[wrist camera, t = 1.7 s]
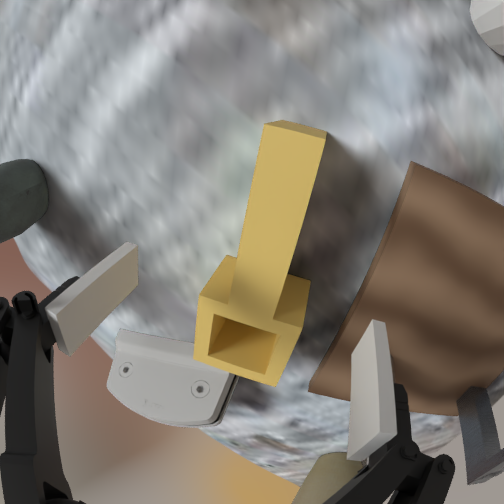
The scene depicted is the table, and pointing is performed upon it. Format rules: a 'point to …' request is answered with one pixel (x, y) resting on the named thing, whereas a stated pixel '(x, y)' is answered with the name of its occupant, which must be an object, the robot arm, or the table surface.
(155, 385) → the white d-shaped block
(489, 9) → the white cylinder
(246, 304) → the link
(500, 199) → the table surface
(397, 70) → the table surface
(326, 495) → the plant pot
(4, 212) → the bottle
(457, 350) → the board
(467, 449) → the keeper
